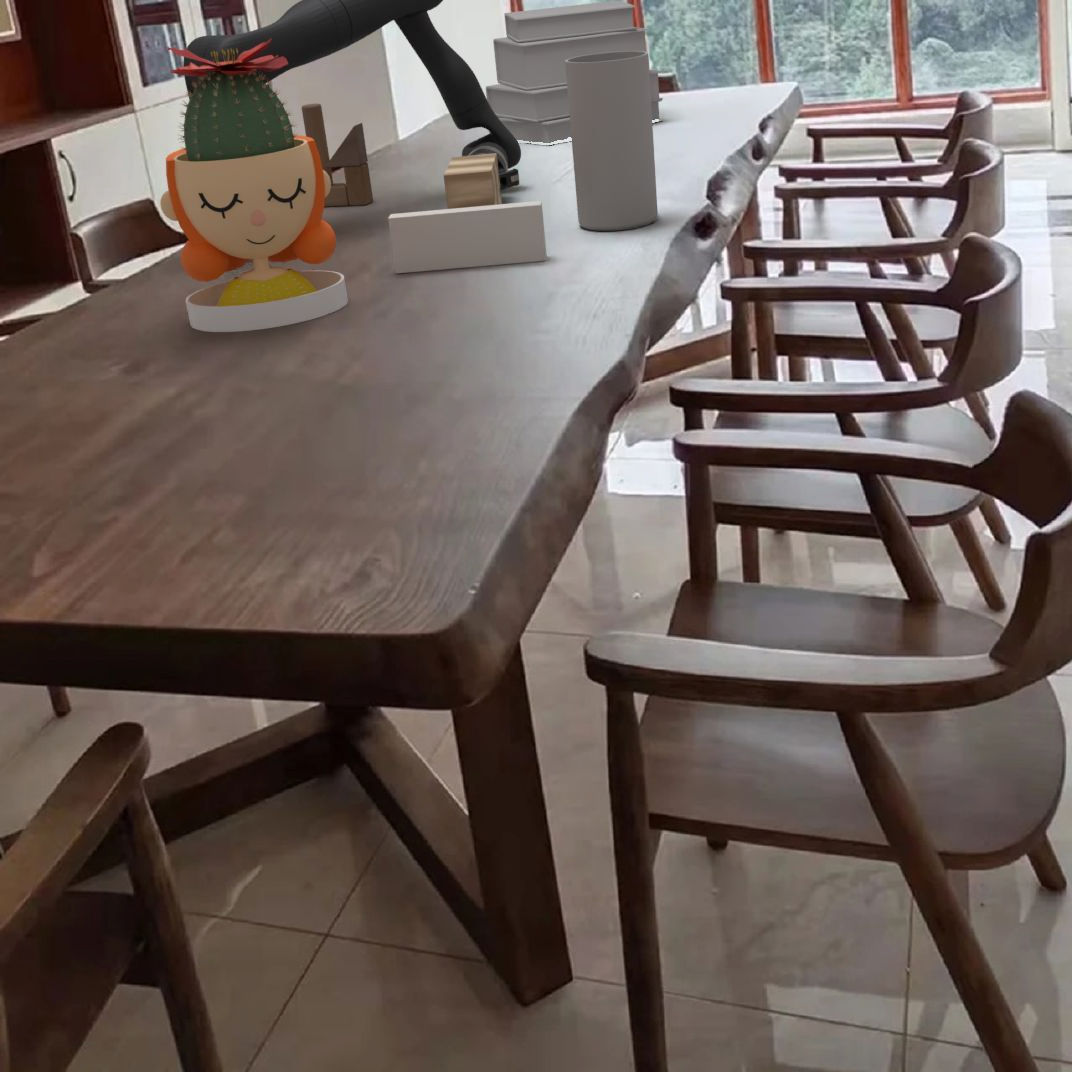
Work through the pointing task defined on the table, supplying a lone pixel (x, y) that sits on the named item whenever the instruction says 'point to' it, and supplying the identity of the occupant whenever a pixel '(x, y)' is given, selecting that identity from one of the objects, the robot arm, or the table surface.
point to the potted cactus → (249, 201)
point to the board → (468, 237)
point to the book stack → (555, 63)
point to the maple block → (472, 181)
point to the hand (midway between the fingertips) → (477, 190)
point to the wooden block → (341, 160)
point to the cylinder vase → (612, 140)
